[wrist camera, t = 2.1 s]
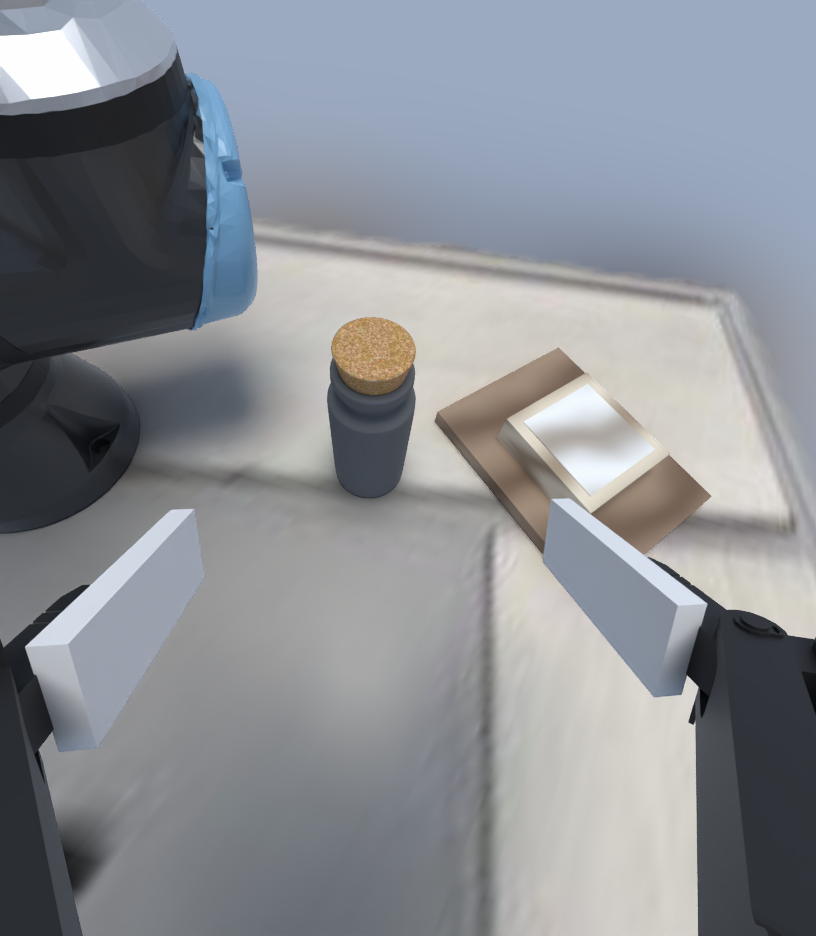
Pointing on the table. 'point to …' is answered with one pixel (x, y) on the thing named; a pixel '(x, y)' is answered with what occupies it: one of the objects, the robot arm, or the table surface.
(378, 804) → the table surface
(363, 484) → the bottle
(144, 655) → the robot arm
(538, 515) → the plinth
